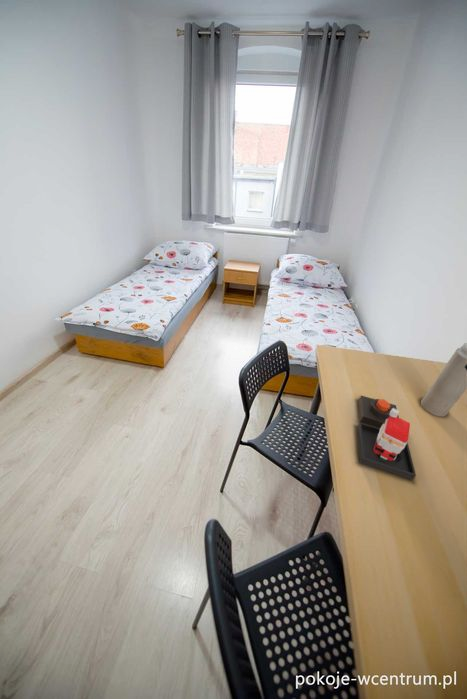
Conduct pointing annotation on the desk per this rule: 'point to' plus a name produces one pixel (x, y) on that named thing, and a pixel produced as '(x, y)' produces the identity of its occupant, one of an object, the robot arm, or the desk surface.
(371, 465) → the tray
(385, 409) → the button
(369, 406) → the console
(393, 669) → the desk surface
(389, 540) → the desk surface
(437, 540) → the desk surface
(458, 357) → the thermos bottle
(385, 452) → the figurine
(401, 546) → the desk surface
